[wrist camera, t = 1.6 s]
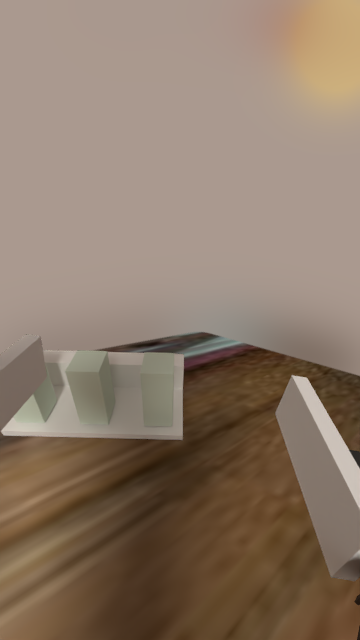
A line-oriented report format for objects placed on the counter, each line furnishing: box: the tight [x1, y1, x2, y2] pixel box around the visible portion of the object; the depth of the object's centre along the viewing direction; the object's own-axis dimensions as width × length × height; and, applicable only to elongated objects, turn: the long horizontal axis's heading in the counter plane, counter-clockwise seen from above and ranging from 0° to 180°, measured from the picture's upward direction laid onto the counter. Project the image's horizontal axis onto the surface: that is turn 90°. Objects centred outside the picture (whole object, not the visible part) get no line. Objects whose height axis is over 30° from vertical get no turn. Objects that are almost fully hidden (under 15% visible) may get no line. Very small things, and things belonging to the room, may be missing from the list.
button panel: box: [1, 350, 184, 440], centre depth 37 cm, size 25×12×6 cm, turn 90°
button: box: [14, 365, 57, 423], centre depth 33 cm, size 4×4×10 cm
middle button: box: [65, 350, 115, 425], centre depth 33 cm, size 4×4×10 cm
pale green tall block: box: [140, 352, 174, 426], centre depth 33 cm, size 4×4×10 cm
